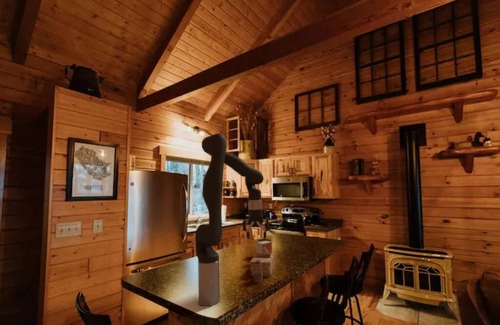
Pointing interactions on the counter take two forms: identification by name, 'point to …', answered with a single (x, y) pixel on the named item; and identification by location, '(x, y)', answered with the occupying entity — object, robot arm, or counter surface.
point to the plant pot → (263, 240)
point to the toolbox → (265, 268)
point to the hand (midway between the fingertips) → (256, 238)
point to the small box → (264, 247)
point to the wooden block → (258, 271)
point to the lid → (263, 257)
